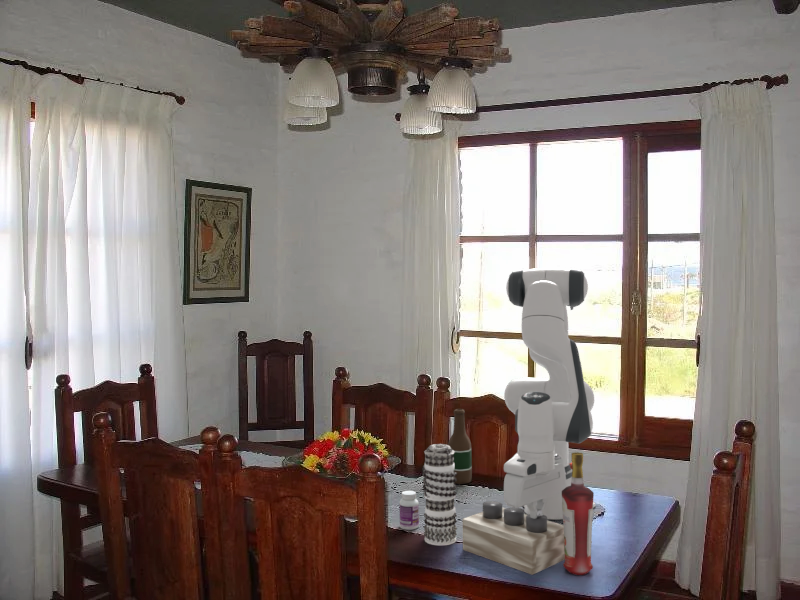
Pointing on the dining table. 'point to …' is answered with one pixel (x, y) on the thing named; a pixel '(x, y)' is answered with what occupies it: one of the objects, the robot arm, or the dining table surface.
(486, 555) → the console
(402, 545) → the dining table surface
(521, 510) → the knob
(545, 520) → the knob
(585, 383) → the robot arm
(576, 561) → the liquor
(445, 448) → the decorative candle
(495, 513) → the knob
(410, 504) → the pill bottle
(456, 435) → the beer bottle
